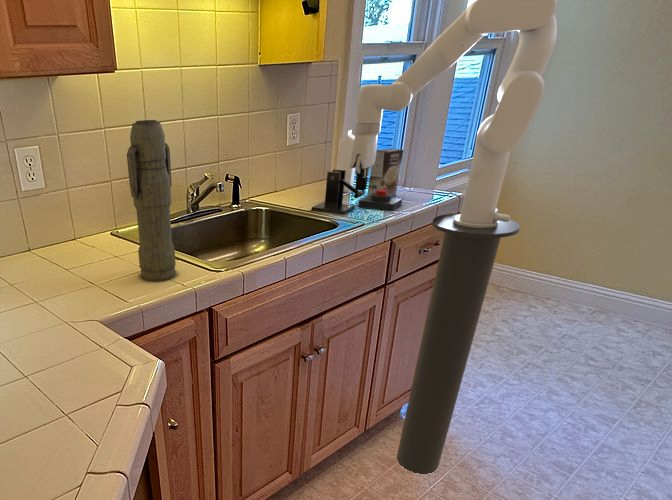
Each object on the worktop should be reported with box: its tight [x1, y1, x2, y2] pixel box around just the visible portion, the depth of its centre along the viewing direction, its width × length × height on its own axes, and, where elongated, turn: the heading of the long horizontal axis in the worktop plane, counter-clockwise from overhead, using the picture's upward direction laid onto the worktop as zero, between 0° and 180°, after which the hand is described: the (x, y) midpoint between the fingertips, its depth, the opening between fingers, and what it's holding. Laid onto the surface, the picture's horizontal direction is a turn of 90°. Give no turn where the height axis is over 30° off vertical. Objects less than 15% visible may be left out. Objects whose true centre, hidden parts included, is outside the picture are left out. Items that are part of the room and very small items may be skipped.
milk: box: [335, 129, 356, 193], centre depth 193 cm, size 6×6×22 cm
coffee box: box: [366, 148, 404, 197], centre depth 185 cm, size 9×6×16 cm
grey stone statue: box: [126, 119, 177, 282], centre depth 116 cm, size 9×12×35 cm
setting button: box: [376, 189, 387, 196], centre depth 173 cm, size 4×4×2 cm
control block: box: [357, 193, 403, 212], centre depth 174 cm, size 12×9×4 cm
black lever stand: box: [311, 168, 356, 215], centre depth 171 cm, size 12×9×13 cm
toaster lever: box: [334, 171, 366, 199], centre depth 167 cm, size 12×6×2 cm
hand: (360, 189), depth 165 cm, fingers closed
